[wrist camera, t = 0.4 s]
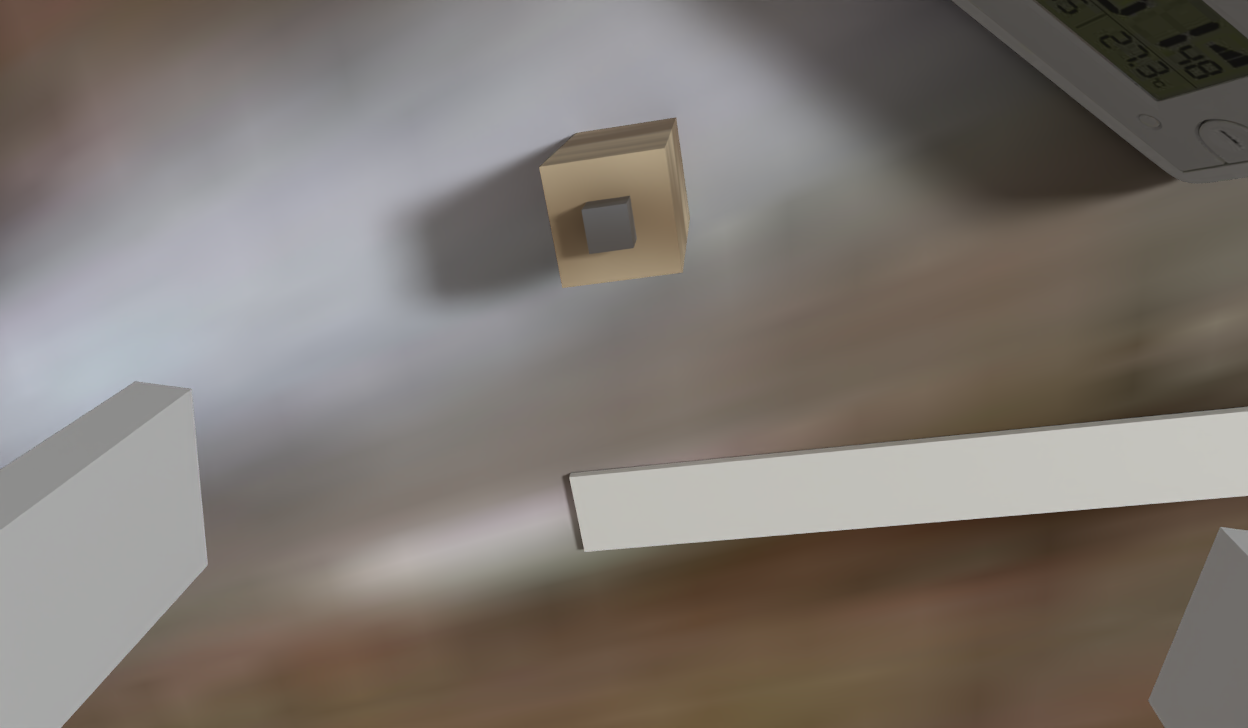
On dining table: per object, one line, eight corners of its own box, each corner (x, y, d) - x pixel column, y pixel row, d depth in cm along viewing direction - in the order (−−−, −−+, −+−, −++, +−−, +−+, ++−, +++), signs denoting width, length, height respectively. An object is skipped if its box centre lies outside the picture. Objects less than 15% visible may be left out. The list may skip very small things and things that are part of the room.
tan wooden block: (576, 133, 36) (532, 173, 27) (676, 117, 35) (662, 154, 27) (593, 231, 37) (556, 298, 29) (690, 217, 37) (681, 283, 28)
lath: (570, 473, 41) (569, 477, 41) (1444, 387, 36) (1452, 391, 36) (585, 547, 43) (584, 551, 42) (1429, 475, 37) (1436, 479, 37)
